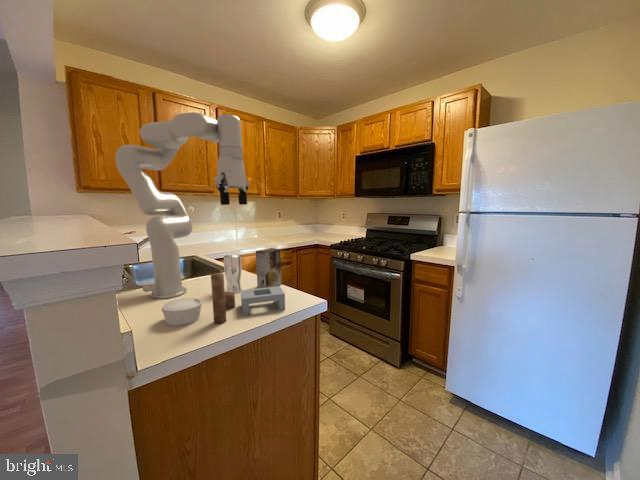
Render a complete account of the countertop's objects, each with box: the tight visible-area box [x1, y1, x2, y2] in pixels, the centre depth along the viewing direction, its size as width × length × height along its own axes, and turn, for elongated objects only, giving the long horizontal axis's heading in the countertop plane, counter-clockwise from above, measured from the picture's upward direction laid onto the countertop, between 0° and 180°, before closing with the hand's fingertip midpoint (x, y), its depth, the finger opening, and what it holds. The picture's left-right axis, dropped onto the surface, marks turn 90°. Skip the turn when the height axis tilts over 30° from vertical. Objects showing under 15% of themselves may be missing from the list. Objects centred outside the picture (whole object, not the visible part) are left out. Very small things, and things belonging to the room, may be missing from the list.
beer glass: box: [223, 253, 243, 294], centre depth 111 cm, size 7×7×15 cm
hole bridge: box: [240, 285, 286, 316], centre depth 94 cm, size 14×9×6 cm, turn 109°
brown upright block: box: [225, 292, 236, 310], centre depth 94 cm, size 4×4×5 cm
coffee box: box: [255, 247, 283, 288], centre depth 118 cm, size 9×6×16 cm
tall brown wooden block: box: [210, 272, 227, 325], centre depth 82 cm, size 4×4×15 cm
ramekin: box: [161, 297, 203, 327], centre depth 85 cm, size 11×11×5 cm
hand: (234, 204), depth 94 cm, fingers open, 9 cm apart
